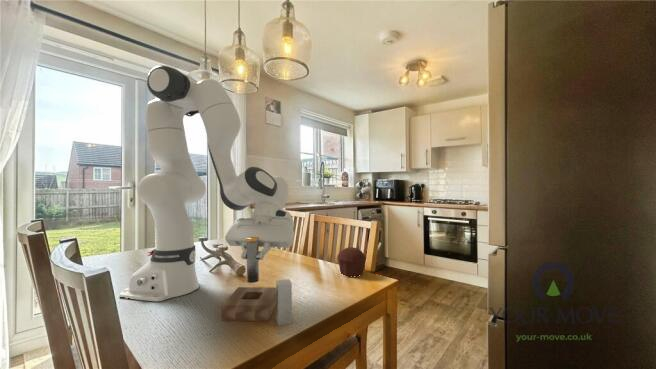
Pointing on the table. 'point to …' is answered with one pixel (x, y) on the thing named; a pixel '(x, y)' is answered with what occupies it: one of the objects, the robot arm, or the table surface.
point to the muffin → (351, 261)
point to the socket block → (250, 304)
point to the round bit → (252, 260)
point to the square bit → (283, 302)
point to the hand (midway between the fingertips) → (251, 258)
